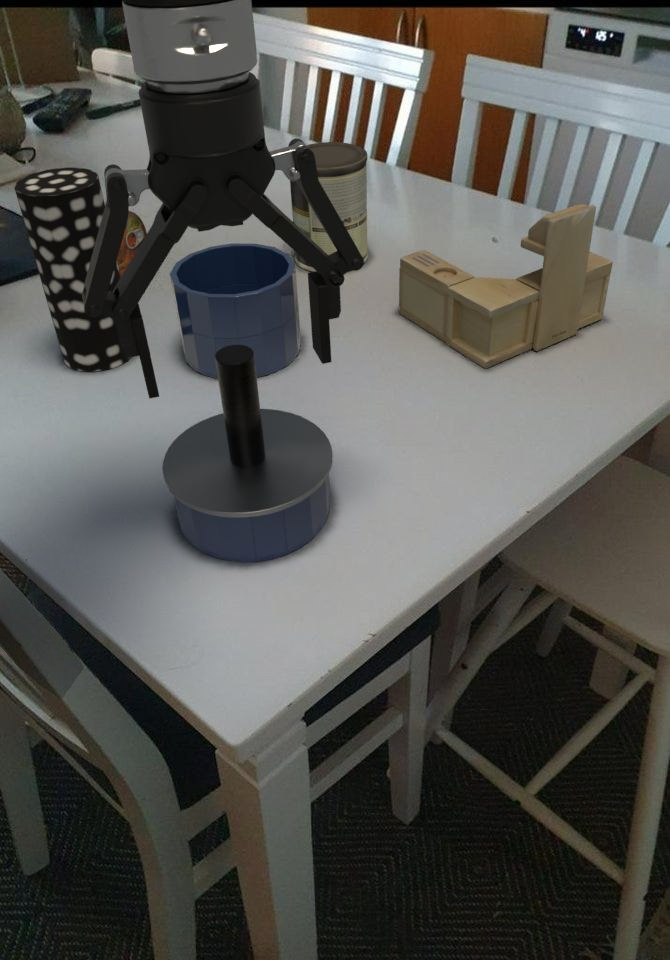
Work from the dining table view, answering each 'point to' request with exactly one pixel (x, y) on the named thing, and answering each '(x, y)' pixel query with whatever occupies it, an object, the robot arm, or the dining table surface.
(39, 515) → the dining table surface
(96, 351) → the white-spotted black cylinder
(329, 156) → the coffee can
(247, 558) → the pan
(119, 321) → the robot arm
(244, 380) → the lid
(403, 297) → the toy kitchen set
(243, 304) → the pot
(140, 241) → the tin
